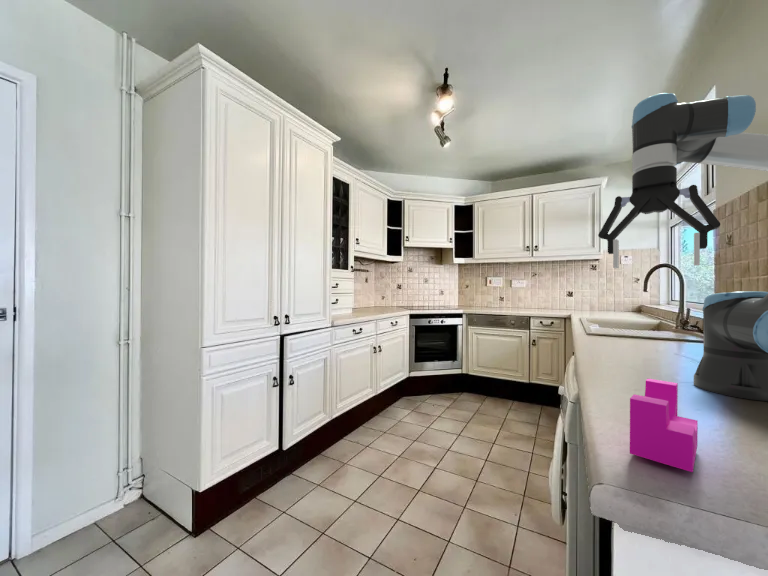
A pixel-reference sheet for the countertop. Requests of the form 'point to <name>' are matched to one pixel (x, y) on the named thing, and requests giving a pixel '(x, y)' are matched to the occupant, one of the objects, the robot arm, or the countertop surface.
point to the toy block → (662, 427)
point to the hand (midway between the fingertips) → (653, 266)
